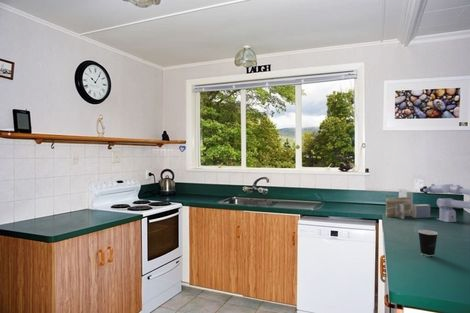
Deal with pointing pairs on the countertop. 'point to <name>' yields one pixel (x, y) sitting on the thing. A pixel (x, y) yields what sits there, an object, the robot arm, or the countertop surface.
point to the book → (421, 211)
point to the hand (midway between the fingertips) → (425, 189)
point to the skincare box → (406, 195)
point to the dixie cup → (427, 241)
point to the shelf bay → (398, 207)
